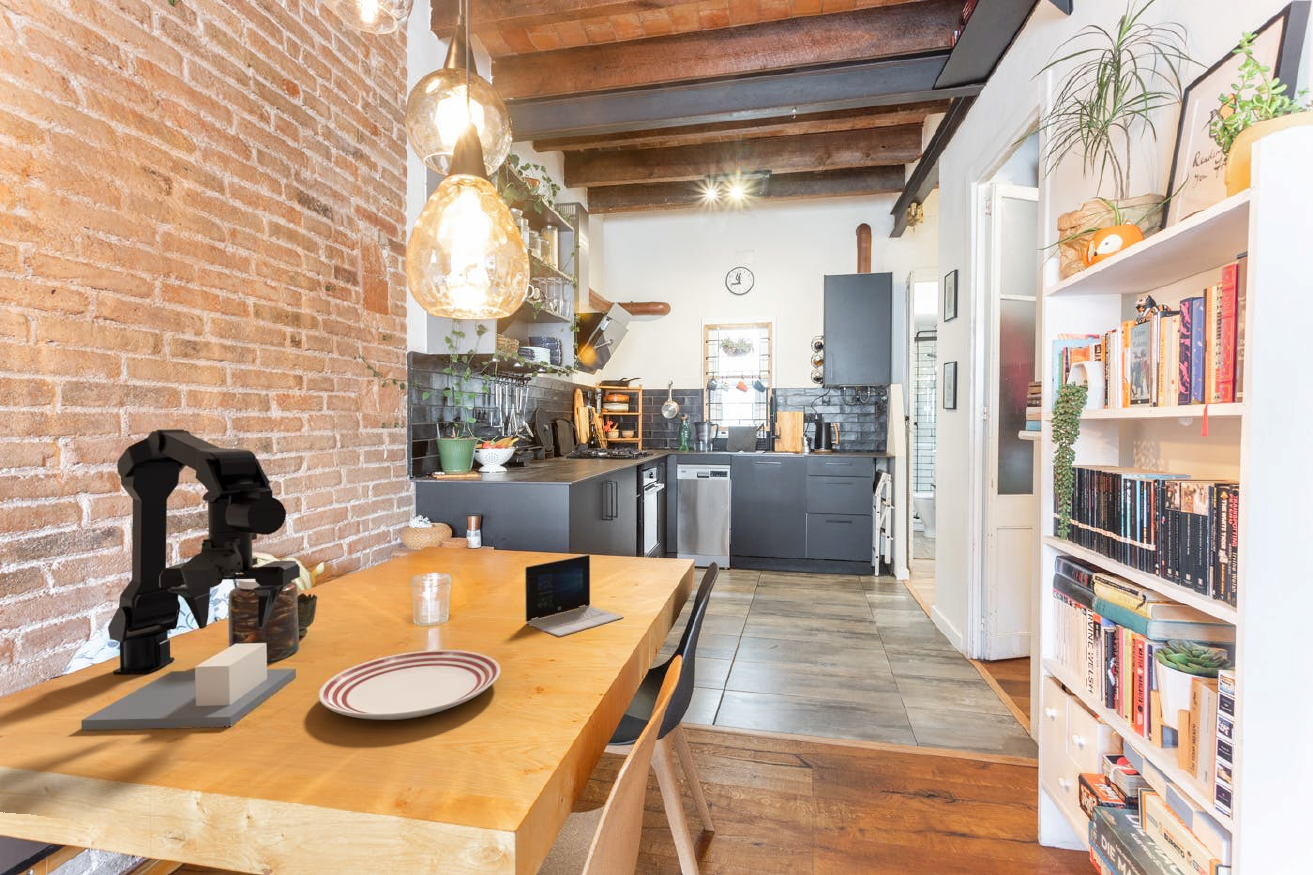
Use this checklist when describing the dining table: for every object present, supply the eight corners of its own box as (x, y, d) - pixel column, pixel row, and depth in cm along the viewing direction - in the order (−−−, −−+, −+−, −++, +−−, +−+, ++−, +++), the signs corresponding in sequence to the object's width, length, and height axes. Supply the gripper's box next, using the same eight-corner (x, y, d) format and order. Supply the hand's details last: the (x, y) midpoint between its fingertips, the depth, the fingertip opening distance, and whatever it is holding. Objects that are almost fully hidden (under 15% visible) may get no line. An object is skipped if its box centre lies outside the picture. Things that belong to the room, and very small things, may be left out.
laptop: (559, 639, 131) (558, 576, 130) (525, 625, 139) (524, 566, 139) (624, 620, 143) (624, 562, 143) (589, 608, 152) (588, 554, 152)
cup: (286, 644, 127) (285, 605, 127) (270, 637, 131) (269, 599, 131) (324, 634, 133) (323, 596, 133) (308, 628, 137) (307, 591, 137)
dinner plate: (331, 676, 111) (330, 657, 111) (491, 655, 121) (491, 638, 121) (305, 752, 86) (304, 728, 86) (510, 718, 95) (510, 696, 95)
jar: (314, 646, 126) (312, 571, 126) (263, 668, 115) (261, 585, 114) (266, 641, 129) (265, 567, 129) (212, 661, 118) (210, 581, 118)
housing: (195, 705, 96) (195, 666, 96) (236, 679, 106) (235, 643, 106) (229, 705, 96) (229, 665, 96) (267, 678, 106) (266, 643, 106)
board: (81, 730, 92) (81, 720, 92) (171, 679, 110) (171, 671, 110) (230, 726, 93) (230, 716, 93) (295, 677, 111) (295, 668, 110)
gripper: (129, 540, 92) (132, 646, 93) (261, 538, 93) (263, 643, 93) (183, 527, 103) (185, 622, 104) (300, 525, 104) (302, 620, 104)
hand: (232, 627), depth 101 cm, fingers open, 9 cm apart
